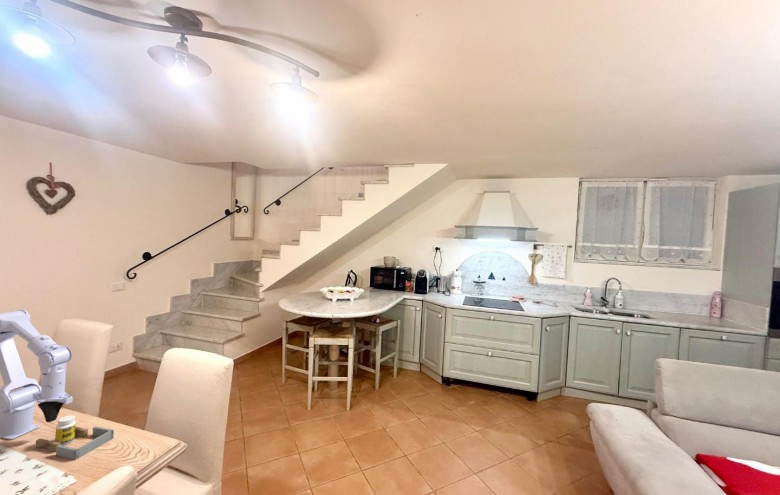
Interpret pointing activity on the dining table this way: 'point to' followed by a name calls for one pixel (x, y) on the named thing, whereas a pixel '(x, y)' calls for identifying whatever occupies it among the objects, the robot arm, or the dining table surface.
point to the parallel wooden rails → (52, 445)
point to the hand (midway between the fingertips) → (51, 420)
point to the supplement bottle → (65, 430)
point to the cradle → (74, 453)
